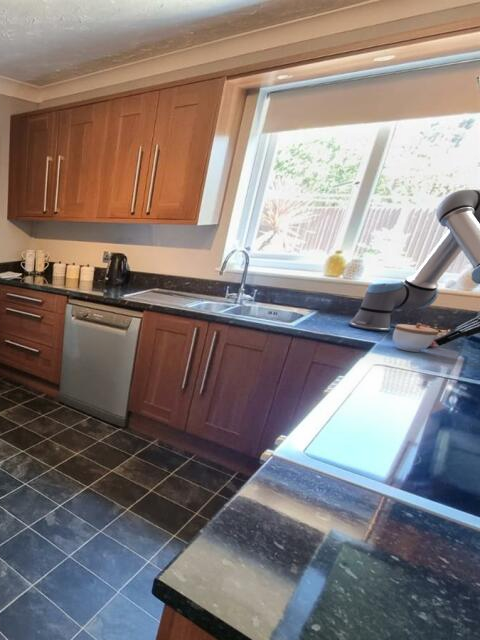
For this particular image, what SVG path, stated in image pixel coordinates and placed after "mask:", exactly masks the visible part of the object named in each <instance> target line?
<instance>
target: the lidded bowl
mask: <svg viewBox="0 0 480 640" xmlns="http://www.w3.org/2000/svg"><path fill="white" fill-rule="evenodd" d="M421 325H422V323H420V322H416V324H404V323H399V324H396V325H395V326H394V327H395V328H394V331H393V333H392V342H393V344H394V346H395V348H396V349H399V350H403V351H407V352H415V353H419V352H421V351H424V350H426V349H427V348H428V347H431V346H430V345H431V344H432V343H433V342H435V341H434V340H435V339H437V336H438V334H439V333H440V332H439V331H438V330H436V329H432V328H433V327H428V326H427V327H422V326H421Z"/></svg>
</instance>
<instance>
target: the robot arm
mask: <svg viewBox="0 0 480 640" xmlns="http://www.w3.org/2000/svg"><path fill="white" fill-rule="evenodd" d="M435 210H436V212H435V214H436V218H437V221H438V222H439V224H440V225H441V227H444V228H447V229H448V230H446V232H445V233H444V235H443V236H442V237H441V238H440V240H439V241H438V242H437V244H436V245H435V246H434V248H433V249H432V250H431V252H430V253H429V255H428V256H427V257H426V258H425V260H424V261H423V263H422V264H421V265H420V266H419V268H418V269H417V270H416V272H415V273H414V274H413V275H411V276H407V277H406V278H405V280H404V281H402V280H397V279H378V280H373V281H371V282H370V283H369V285H368V286H367V288H366V292H365V294H364V297H363V300H362V303H361V304H360V307H359V310H358V311H357V312H356V314H355V315H354V317H353V318H352V319H351V320H350V321H349V322H348V326H350V327H352V328H355V329H360V330H365V331H370V332H371V331H372V332H379V333H381V332H382V333H385V332H386V333H387V332H390V330H391V328H392V329H395V327H396V326H394V325H391V316H392V312H393V309H405V310H422V309H425V308H428V307H430V306H431V305H432V304H433V303H435V302H436V301H437V299H438V296H439V295H438V294H439V289H438V288H439V284H438V281H439V280H440V279H441V277H442V276H443V275H444V274H445V272H446V271H447V270H448V269H449V268H450V266H451V265H452V264H453V262H454V261H455V260H456V259H457V257H458V256H459V255H460V254H461V252H463V254H464V255H465V257H466V258H467V259H468V260H469V262H470V265H471V266H472V268H473V270H472V272H471V281H472V282H473V283H475V284H478V285H480V189H461V190H457V191H454V192H451V193H450V194H448V195H446V196H445V197H444V198H442V199H441V201H440V202H439V203H438V205H437V207H436V209H435ZM431 328H432V329H434V328H435V327H431ZM438 331H439V333H442V331H441V329H439V330H438ZM479 333H480V314H478V315H477V316H475V317H474V318H472V319H469V320H468V321H465V322H464V323H462V324H460V325H458V326H456V327H454V330H453V331H451V332H449V333H446V334H444V335H442V336H439V337H436V338H435V340H434V341H433V342H434V343H435V344H436V345H437V346H439V347H441V346H443V345H445V344H448V343H450V342H453V341H455V340H457V339H460V338H463V337H464V338H468V337H471V336H473V335H476V334H479Z"/></svg>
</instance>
